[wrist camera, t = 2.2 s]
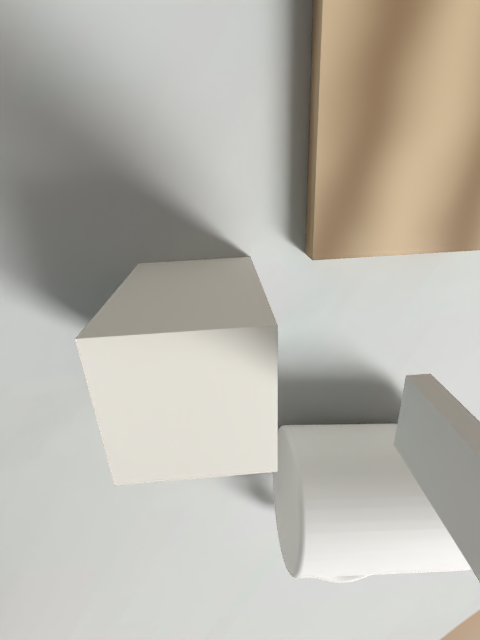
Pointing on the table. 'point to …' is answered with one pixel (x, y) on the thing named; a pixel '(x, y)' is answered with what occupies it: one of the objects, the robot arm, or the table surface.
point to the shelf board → (394, 128)
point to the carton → (185, 372)
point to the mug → (354, 506)
